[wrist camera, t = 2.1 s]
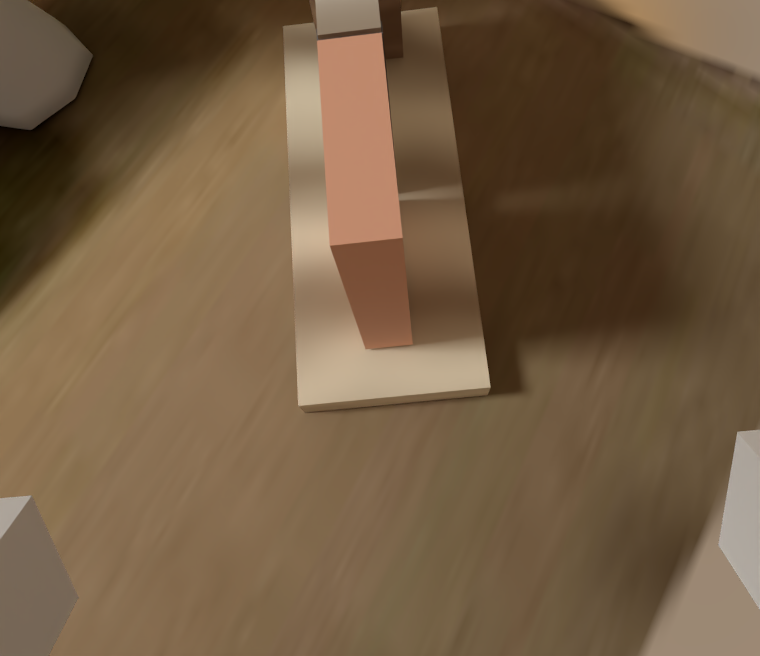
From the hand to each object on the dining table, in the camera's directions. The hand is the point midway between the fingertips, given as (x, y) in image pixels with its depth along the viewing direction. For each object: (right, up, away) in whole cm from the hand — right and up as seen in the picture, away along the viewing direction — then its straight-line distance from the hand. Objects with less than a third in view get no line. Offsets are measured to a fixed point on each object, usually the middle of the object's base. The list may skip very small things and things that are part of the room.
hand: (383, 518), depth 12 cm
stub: (0, +6, +16) cm, 17 cm away
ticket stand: (0, +10, +19) cm, 21 cm away
